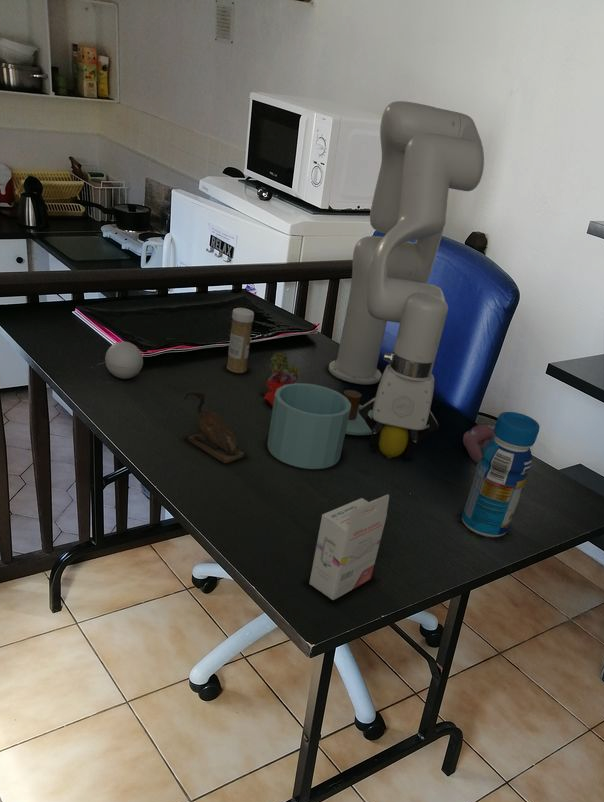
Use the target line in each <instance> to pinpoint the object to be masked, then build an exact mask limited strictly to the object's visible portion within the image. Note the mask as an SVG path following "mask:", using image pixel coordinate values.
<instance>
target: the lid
mask: <svg viewBox="0 0 604 802" xmlns="http://www.w3.org/2000/svg"><path fill="white" fill-rule="evenodd" d="M342 395H343V396H345V397H346V398H347V399H348V400H349V402H350V403H351V408H350V414H349V418H348V423H347V428H346V432H345V435H351V436H369V435H370V436H371V435H372V431H371V429H370V428H369V426H368V425H367V424H366V422H365V420H364V419H363V418H362V417H361V415H360V414H359V408H360V407H361V406H363V405H361V400H362V394H361V392H359V391H357V390H354V389H346V390H344V391H343V394H342ZM372 412H373V409H372V410H370V411H369V412H368V413H369V414H370V415H371V416H372ZM372 417H373V416H372ZM382 428H383V426H382V427H381V429H380V431H381V430H382Z"/></svg>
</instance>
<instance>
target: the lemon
mask: <svg viewBox="0 0 604 802" xmlns="http://www.w3.org/2000/svg"><path fill="white" fill-rule="evenodd" d="M408 436H409V429H406V428H401V427H396V426H391V425H387V424H383V426H382V428H381V430H380V437H379V441H378V445H377V446H378V448H379V450H380V452H381V453H382V454H383V455H384V456H385V457H386V458H387V459H393V458H396V457H399V456H401V455H402V454H404V451H405V449H406V446H407V444H408Z"/></svg>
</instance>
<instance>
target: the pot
mask: <svg viewBox="0 0 604 802" xmlns="http://www.w3.org/2000/svg"><path fill="white" fill-rule="evenodd" d="M343 395H344V394H342V393H340V392H339V391H336V390H334V389H331V388H329V387H327V386H323V385H318V384H313V383H303V382H302V383H301V382H295V383H294V384H287V385H284V386H282V387H280V388H278V389H277V390H276V393H275V397H274V404H273V406H272V409H271V417H270V423H269V431H268V436H267V443H266V444H267V449H268V451H269V453H270V454H271V455H272V456H273V457H274V458H276V460H278V461H280V462H282V463H284V464H287V465H289V466H293V467H296V468H301V469H308V470H320V469H327V468H330V467H333V466H335V465H337V463H338V462H340V459H341V455H342V451H343V447H344V442H345V437H346V434H345V432H346V428H347V423H348V418H349V414H350V408H351V403H350V402H349V400H348V399H347V398H346V397H345V396H343Z"/></svg>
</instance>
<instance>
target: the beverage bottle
mask: <svg viewBox="0 0 604 802" xmlns="http://www.w3.org/2000/svg"><path fill="white" fill-rule="evenodd" d="M494 426H495V428H494V436H495V437H494V438H493V439H491V440H490V441H489V442H488V443H487V444H486V445H485V447H484V448H483V450H482V451H481V453H482V458H481V459H480V460H479V462H478V464H477V463H476V466H475V467H476V468H475V474H474V477H473V480H472V483H471V486H470V490H469V493H468V496H467V500H466V502H465V506H464V507H463V511H462V513H461V521H462V523H463V524H464V526H465V527H466V528H467V529H468V530H470V531H471V532H473V533H475V534H477V535H480V536H483V537H487V538H499V537H502V536H505V535H506V534H507V533H508V531H509V529H510V526H511V522H512V520H513V517H514V515H515V511H516V509H517V506H518V503H519V501H520V498H521V495H522V492H523V491H524V490H523V489H524V487H525V486H526V485H527V484H526V483H527V481H528V478H529V474H528V473H529V470H530V469H531V468H532V465H533V455H532V451H531V447H533V446H534V444H535V443H536V441H537V438H538V435H539V433H540V428H541V427H540V424H539V423H538V421H537V420H535V419H534V418H533V417H531V416H528V415H526V414H523V413H519V412H515V411H504V412H501V413H500V414H499V415H498V417H497V419H496V422H495V425H494Z"/></svg>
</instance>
